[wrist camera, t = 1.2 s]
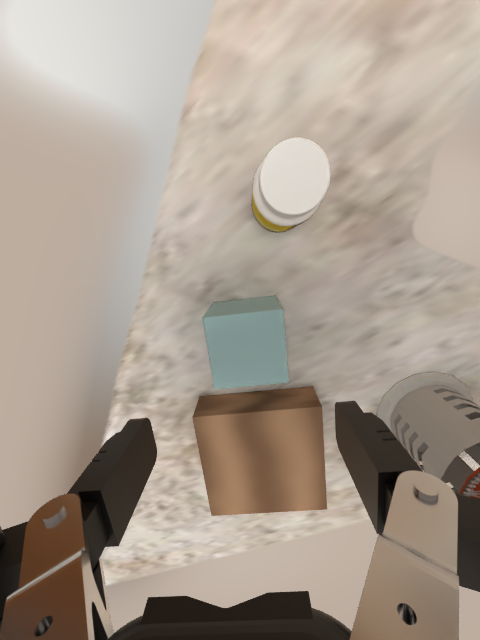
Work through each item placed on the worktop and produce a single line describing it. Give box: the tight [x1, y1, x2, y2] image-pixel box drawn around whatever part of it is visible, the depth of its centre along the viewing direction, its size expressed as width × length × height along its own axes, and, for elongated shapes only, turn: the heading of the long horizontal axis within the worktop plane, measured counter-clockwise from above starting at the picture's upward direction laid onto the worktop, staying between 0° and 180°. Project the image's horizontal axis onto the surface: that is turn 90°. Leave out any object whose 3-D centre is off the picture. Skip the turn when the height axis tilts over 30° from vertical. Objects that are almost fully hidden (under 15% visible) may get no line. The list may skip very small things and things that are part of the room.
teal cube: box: [203, 295, 289, 389], centre depth 23 cm, size 6×6×6 cm
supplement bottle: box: [252, 137, 330, 232], centre depth 19 cm, size 5×5×8 cm
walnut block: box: [193, 387, 327, 516], centre depth 27 cm, size 12×12×4 cm
